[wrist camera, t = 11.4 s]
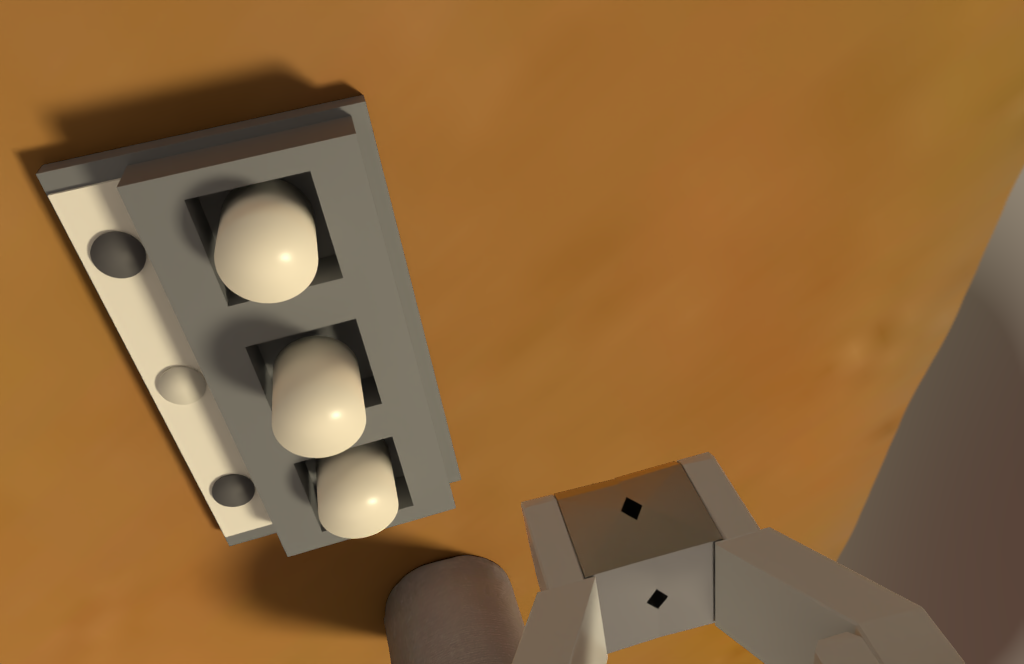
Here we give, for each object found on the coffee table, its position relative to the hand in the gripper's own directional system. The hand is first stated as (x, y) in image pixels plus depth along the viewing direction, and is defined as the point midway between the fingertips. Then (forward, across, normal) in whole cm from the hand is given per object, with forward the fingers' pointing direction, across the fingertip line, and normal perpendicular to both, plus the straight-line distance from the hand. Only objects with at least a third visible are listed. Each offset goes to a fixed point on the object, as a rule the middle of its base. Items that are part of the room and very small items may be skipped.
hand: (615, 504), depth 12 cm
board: (+30, +11, +14) cm, 35 cm away
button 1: (+28, +9, +6) cm, 30 cm away
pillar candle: (+30, +6, +39) cm, 50 cm away
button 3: (+28, +9, +22) cm, 37 cm away
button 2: (+26, +9, +14) cm, 31 cm away
